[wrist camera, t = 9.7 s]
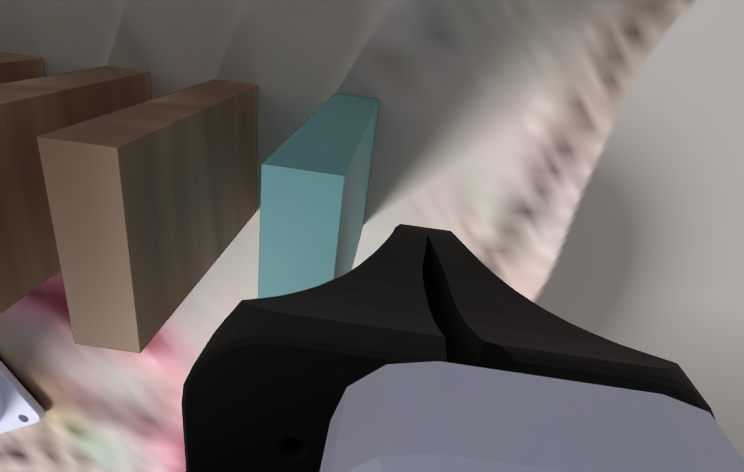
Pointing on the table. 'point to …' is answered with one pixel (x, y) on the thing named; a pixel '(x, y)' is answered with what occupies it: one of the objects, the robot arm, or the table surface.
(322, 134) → the teal domino
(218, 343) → the robot arm
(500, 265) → the table surface
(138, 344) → the walnut domino
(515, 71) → the table surface
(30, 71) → the walnut domino
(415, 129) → the table surface
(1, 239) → the walnut domino
